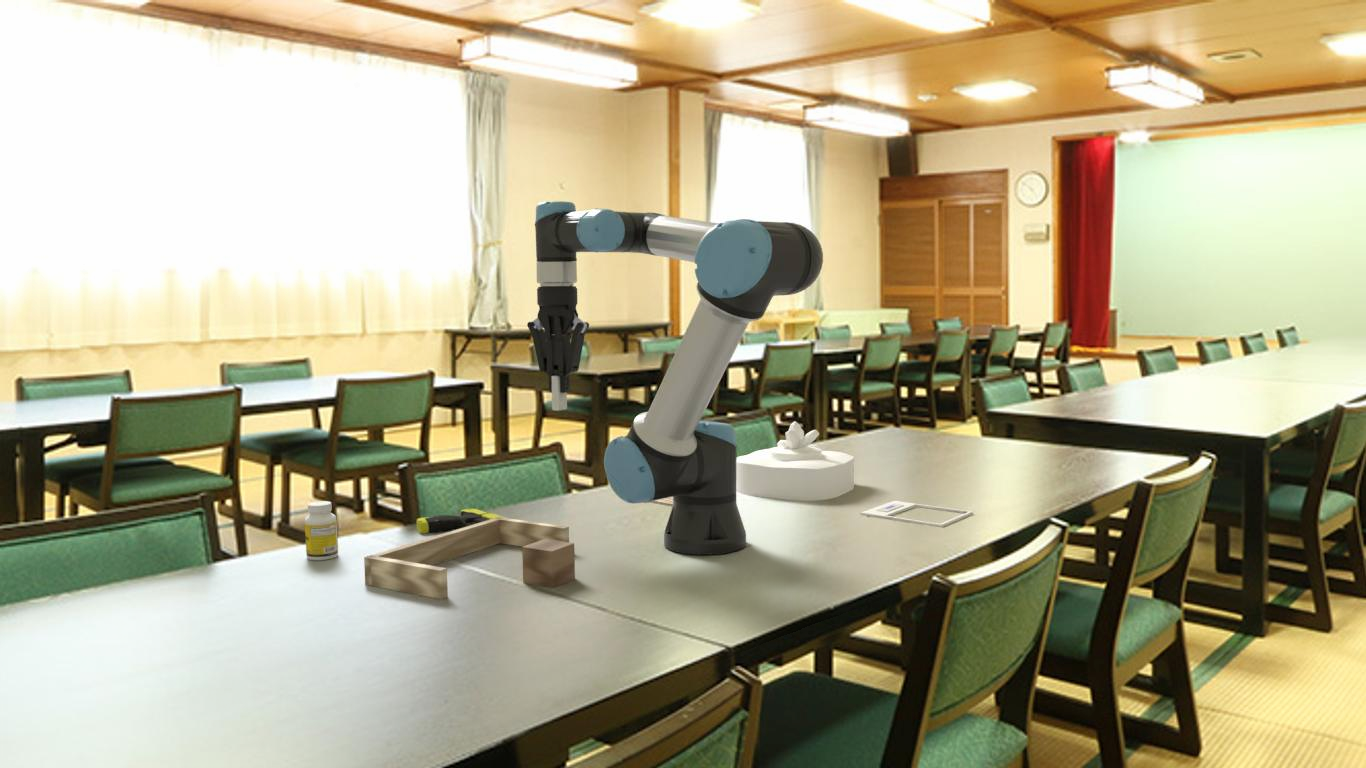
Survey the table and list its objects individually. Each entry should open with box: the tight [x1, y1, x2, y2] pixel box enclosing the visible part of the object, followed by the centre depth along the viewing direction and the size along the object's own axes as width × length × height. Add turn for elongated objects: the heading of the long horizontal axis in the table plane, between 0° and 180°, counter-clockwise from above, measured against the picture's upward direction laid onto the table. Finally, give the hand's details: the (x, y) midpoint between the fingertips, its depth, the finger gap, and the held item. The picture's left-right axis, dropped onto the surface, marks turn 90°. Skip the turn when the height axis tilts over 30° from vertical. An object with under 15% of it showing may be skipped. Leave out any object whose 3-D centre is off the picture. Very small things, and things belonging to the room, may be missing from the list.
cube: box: [521, 539, 576, 589], centre depth 172 cm, size 6×6×6 cm
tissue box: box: [736, 420, 855, 501], centre depth 245 cm, size 25×25×16 cm
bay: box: [363, 516, 570, 600], centre depth 180 cm, size 16×33×4 cm, turn 149°
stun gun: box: [415, 508, 506, 535], centre depth 206 cm, size 3×19×15 cm
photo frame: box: [860, 500, 974, 528], centre depth 218 cm, size 15×1×18 cm
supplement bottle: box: [304, 500, 339, 561], centre depth 188 cm, size 5×5×10 cm
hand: (559, 409), depth 200 cm, fingers closed
